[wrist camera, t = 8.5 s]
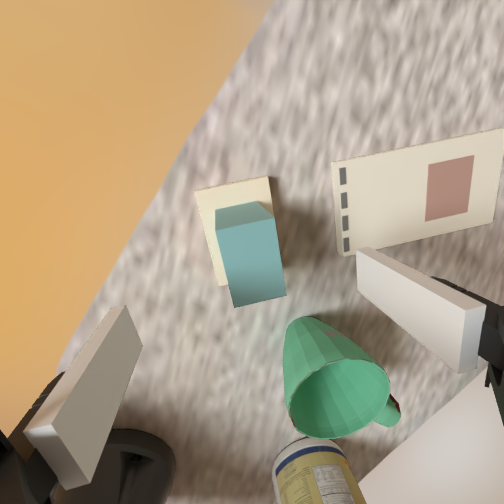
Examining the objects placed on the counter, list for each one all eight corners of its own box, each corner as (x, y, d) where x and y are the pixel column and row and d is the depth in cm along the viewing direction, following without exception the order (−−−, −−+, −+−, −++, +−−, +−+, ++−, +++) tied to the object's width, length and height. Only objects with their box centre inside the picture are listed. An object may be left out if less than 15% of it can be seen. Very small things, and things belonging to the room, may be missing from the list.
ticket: (337, 252, 29) (343, 257, 27) (331, 162, 25) (338, 162, 24) (479, 219, 30) (493, 222, 29) (492, 129, 26) (509, 127, 25)
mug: (251, 346, 32) (266, 422, 22) (296, 285, 30) (334, 341, 20) (335, 384, 36) (377, 461, 27) (380, 333, 34) (442, 398, 25)
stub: (218, 280, 28) (220, 334, 19) (195, 190, 24) (183, 205, 15) (279, 266, 28) (308, 313, 19) (264, 175, 25) (292, 182, 16)
